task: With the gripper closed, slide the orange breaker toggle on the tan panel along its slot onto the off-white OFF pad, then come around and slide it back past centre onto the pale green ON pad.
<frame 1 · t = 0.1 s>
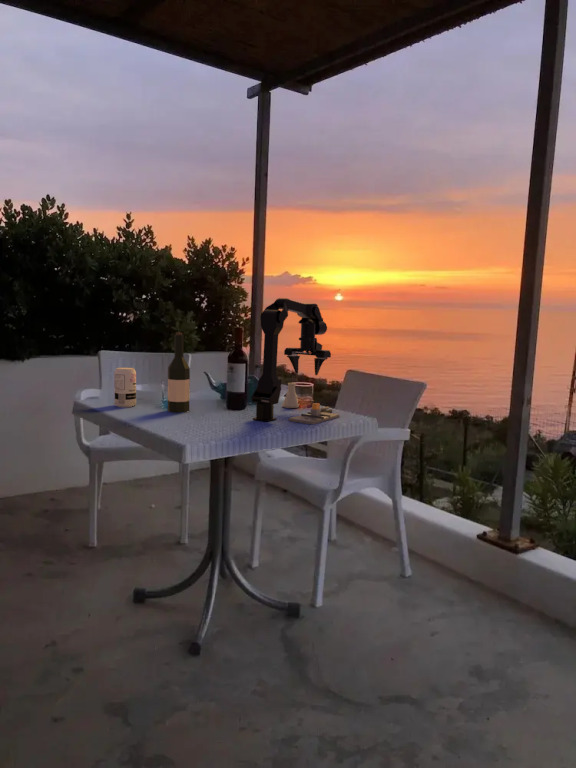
hand: (306, 374, 238), 15 cm above the table, tool pointing down, fingers open, 9 cm apart
wine bottle: (178, 411, 229), on the table
toggle: (315, 409, 221), point 3 cm above the table, slide at 0.0 cm
panel: (314, 418, 221), on the table
cables: (322, 413, 234), on the table
flask: (290, 407, 246), on the table
supplement can: (125, 406, 236), on the table
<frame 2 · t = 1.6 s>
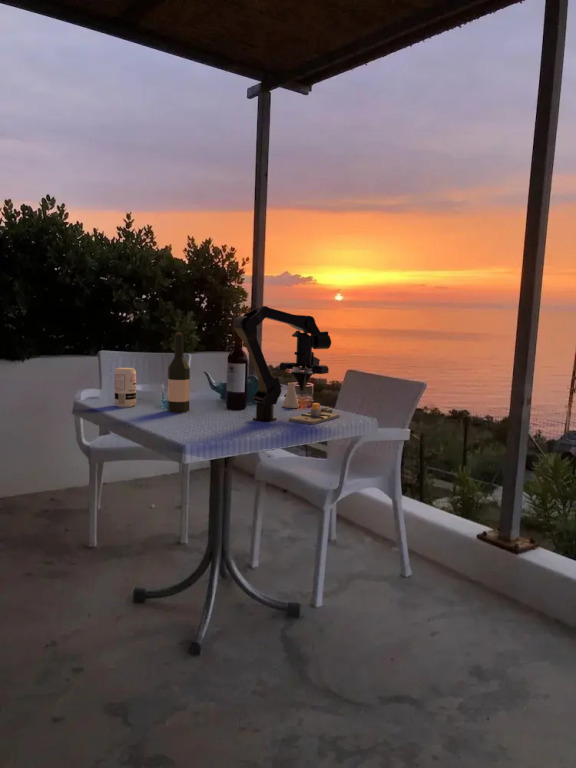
hand: (302, 390, 223), 10 cm above the table, tool pointing down, fingers closed
nothing on the table moved.
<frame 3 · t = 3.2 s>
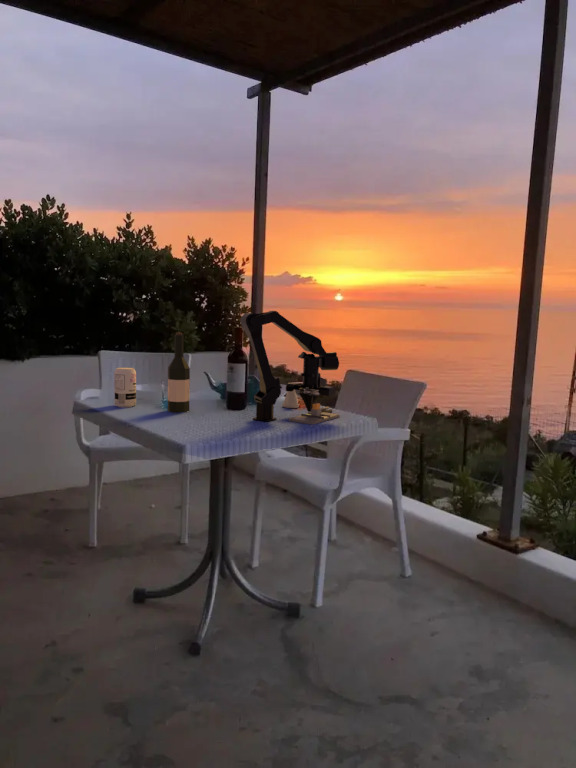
hand: (309, 411, 223), 2 cm above the table, tool pointing down, fingers closed
toggle: (316, 409, 221), point 3 cm above the table, slide at -0.2 cm, touching gripper
everything else where it was.
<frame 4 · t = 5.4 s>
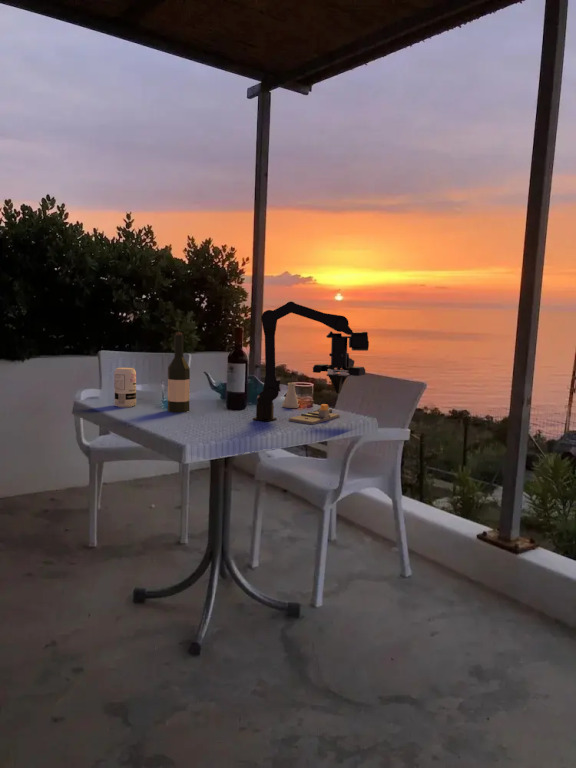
hand: (338, 393, 216), 10 cm above the table, tool pointing down, fingers closed
toggle: (324, 410, 219), point 3 cm above the table, slide at -3.5 cm
everything else where it was.
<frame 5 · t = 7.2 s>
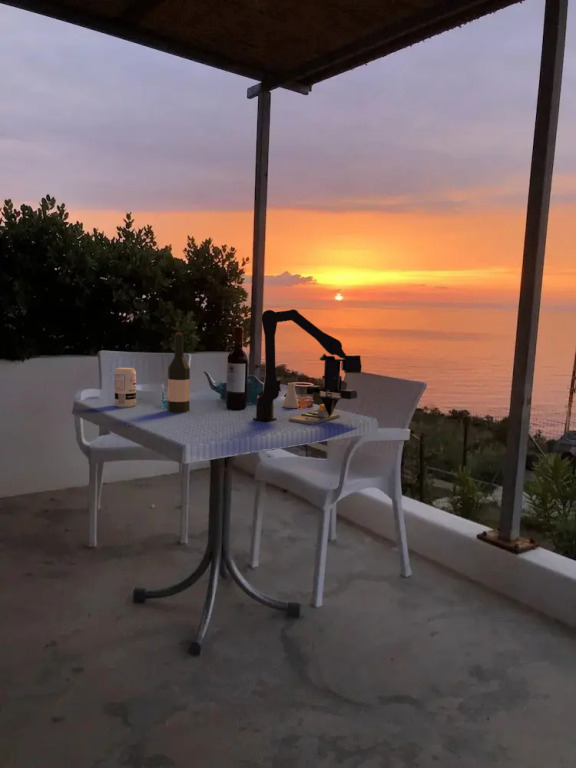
hand: (330, 415, 218), 2 cm above the table, tool pointing down, fingers closed
toggle: (323, 410, 219), point 3 cm above the table, slide at -3.1 cm, touching gripper
everything else where it was.
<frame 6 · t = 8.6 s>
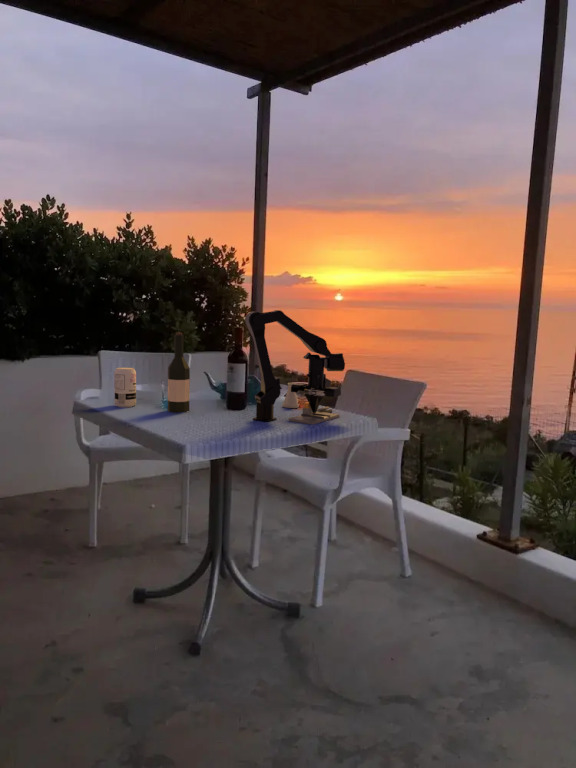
hand: (314, 412, 221), 2 cm above the table, tool pointing down, fingers closed
toggle: (307, 408, 223), point 3 cm above the table, slide at 3.5 cm, touching gripper
everything else where it was.
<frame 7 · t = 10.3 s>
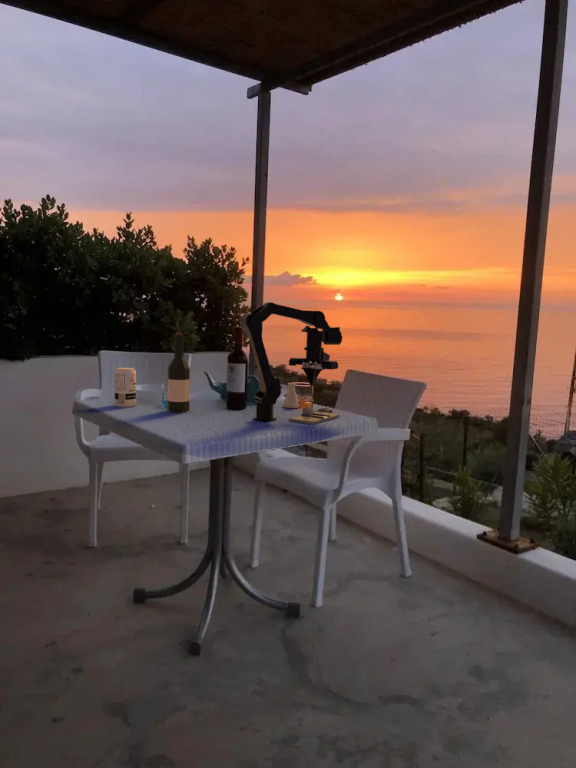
hand: (312, 386, 222), 12 cm above the table, tool pointing down, fingers closed
toggle: (307, 408, 223), point 3 cm above the table, slide at 3.5 cm
everything else where it was.
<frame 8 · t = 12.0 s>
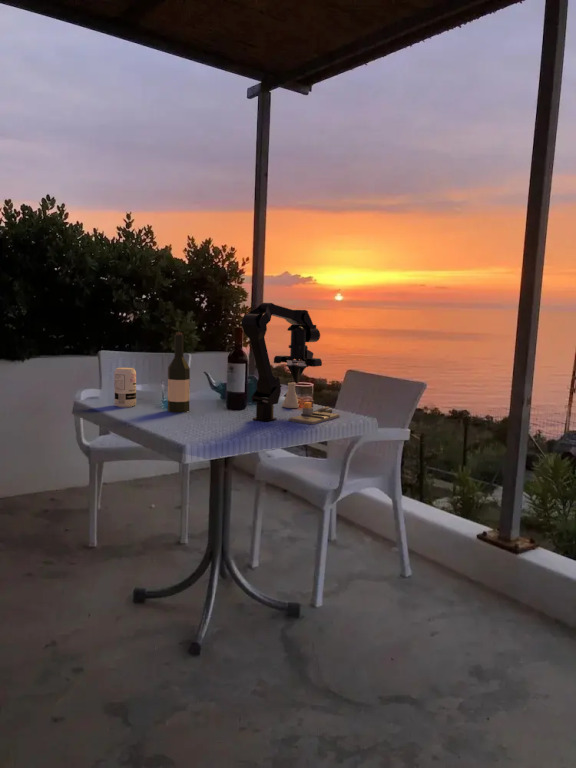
hand: (296, 383, 229), 12 cm above the table, tool pointing down, fingers closed
nothing on the table moved.
at the end: toggle slide at 3.5 cm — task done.
